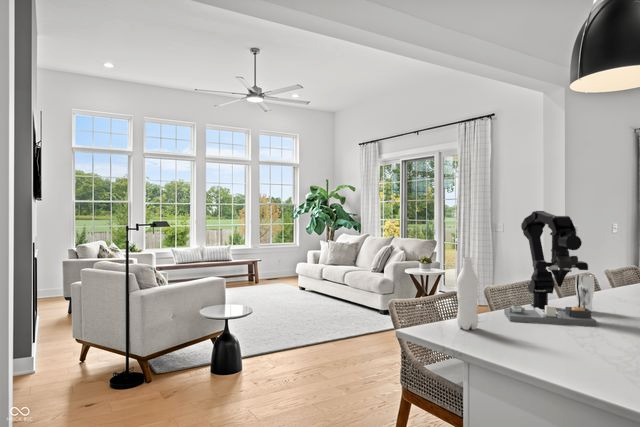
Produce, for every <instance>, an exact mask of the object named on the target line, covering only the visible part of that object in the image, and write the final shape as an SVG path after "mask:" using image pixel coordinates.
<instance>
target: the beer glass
mask: <svg viewBox="0 0 640 427" xmlns="http://www.w3.org/2000/svg"><path fill="white" fill-rule="evenodd" d="M595 287H596V286H595V276H594V275H593V274H587V273H577V274H575V281H574V289H575V294H576V300H577V302H576V303H577V304H576V307H581V308H587V309H588V310H590V311H591V313H593V312H594V307H593V299H594V294H595Z"/></svg>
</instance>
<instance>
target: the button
mask: <svg viewBox="0 0 640 427" xmlns="http://www.w3.org/2000/svg"><path fill="white" fill-rule="evenodd" d="M570 307H571V310H577V311H585V309H584V308H580V307H577V306H570Z"/></svg>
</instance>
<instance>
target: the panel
mask: <svg viewBox="0 0 640 427" xmlns="http://www.w3.org/2000/svg"><path fill="white" fill-rule="evenodd" d="M571 307H572V306H566V307H565V310H564V311H560V310H559V311H558V310H556V317H551V316H546V314H545V310H542V309H541V308H536V307H535V309H525V307H523V306H522V309H512V307H511V306H508V308H504V309H503V310H504V311H503V313H504V314H503V315H505V317H506V318H507V319H508V320H509V322H516V323H533V324H537V323H538V324H551V325H552V324H553V325H554V324H555V325H571V326H572V325H573V326H589V327H590V326H591V327H596V326H597V320H596V319H595V318H593V317H592V312H591V311H590V310H588V309H587V308H584V309H585V311H577V310H571ZM580 308H581V307H580Z"/></svg>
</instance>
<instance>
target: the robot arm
mask: <svg viewBox="0 0 640 427" xmlns="http://www.w3.org/2000/svg"><path fill="white" fill-rule="evenodd" d="M520 224H521V226H520V228H521V230H522V233H523V236H524V237H525V238H526V239H527V241H528V244H529V249H530V255H531V260H532V267H533V272H532V275H531V276H530V277H531V278H530V279H531V280H530V282H529V284H528V286H527V290H528V293H531V294H532V298H533V299H532V303H530V306H532V307H533V308H535V307H536V308H539V309H545V305H549V297H548V296H549V294H552V295H553V294H554V289H555V282H556V285H557V287H559V288H561V287H562V285H563V283H564V280H565V278H566V276H567V274H569V273H571V272H572V268H573V269H578V270H579V271H588V270H589V264H588V263H587V262H585V261H582V260H579V257H578V255H570V252H569V250H570V251H577V250H578V249H580V248H581V246H582V243H583V242H582V240H581V237H579V236H578V235H577V231H576V230H577V228H576V227H575V225H574V223H573V220H572V219H571V216H569V215H555V214H552V213H550V212H546V211H544V210H535V211H532V212H531V213H530V214H529V215H528V216H526V217H525V218H524V219H523V221H522V222H521V223H520ZM545 226H547V227H548V229H550V230H551V232H550V236H551V250H550V251H551V259H550V262H548V261H545V254H544V251H543V245H542V239H541V237H542V235H543V233H544V228H545ZM554 279H555V280H554Z"/></svg>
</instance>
